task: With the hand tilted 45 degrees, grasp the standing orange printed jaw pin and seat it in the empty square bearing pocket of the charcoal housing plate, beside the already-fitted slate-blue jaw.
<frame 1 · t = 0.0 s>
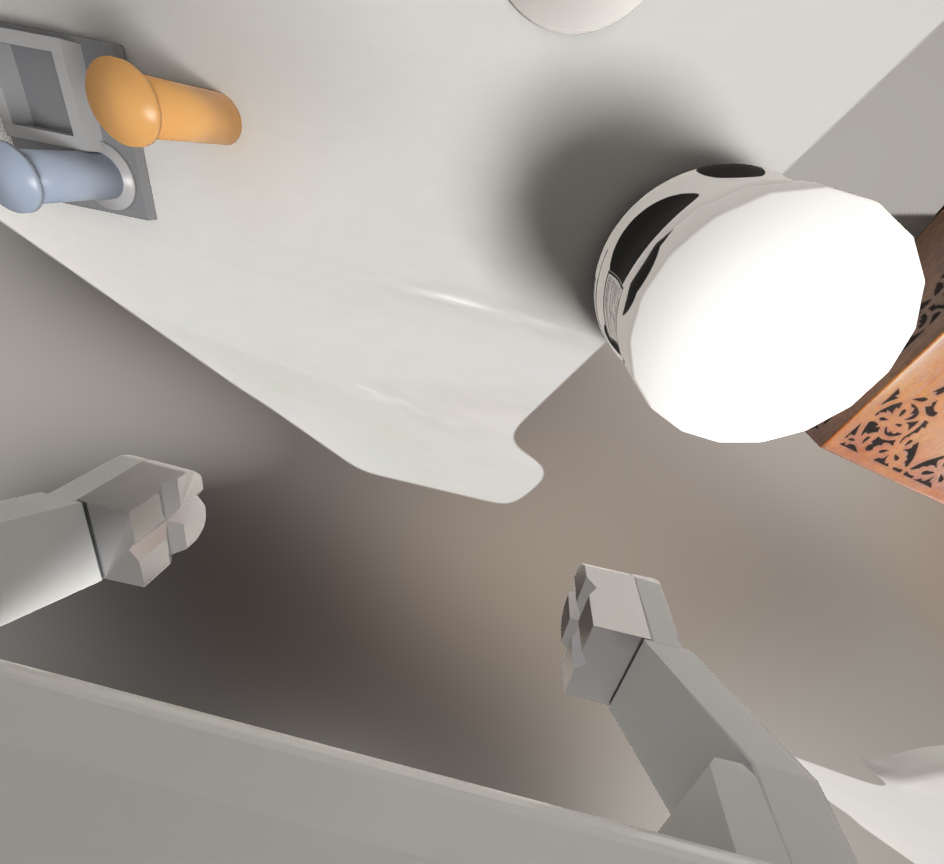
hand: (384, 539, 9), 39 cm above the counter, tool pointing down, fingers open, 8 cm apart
milk container: (685, 272, 41), on the counter
jaw pin: (220, 118, 40), on the counter
housing: (78, 127, 43), on the counter
tissue box cover: (942, 312, 40), on the counter
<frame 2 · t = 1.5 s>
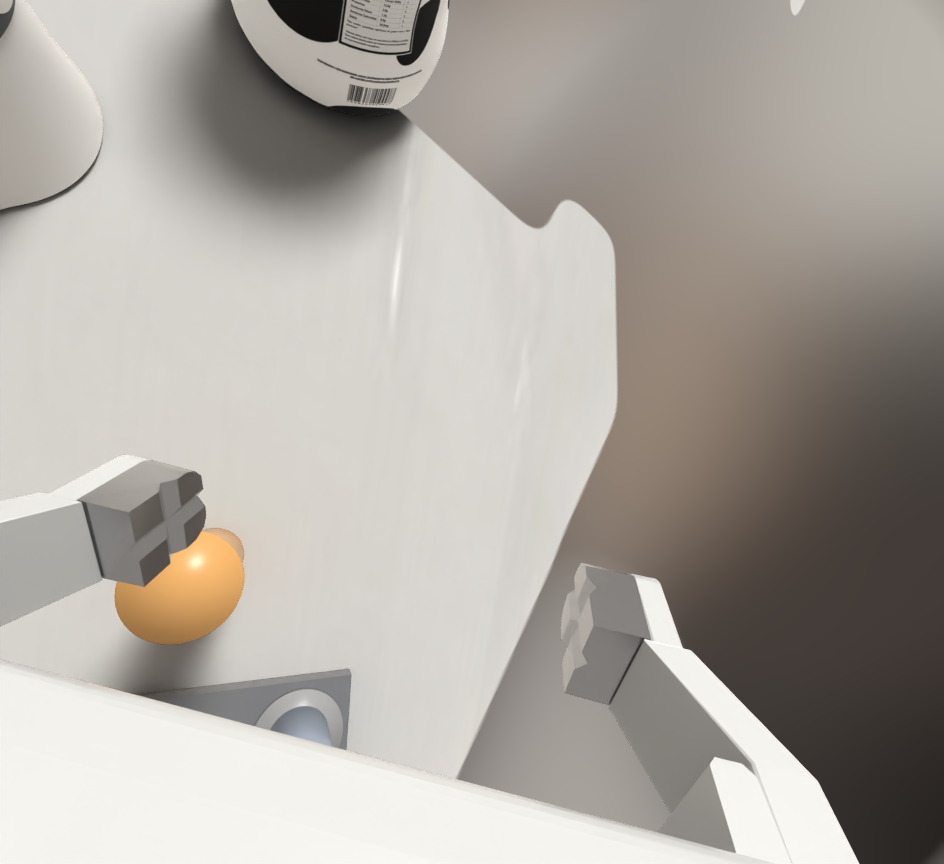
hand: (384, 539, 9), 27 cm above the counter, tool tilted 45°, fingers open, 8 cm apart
milk container: (335, 47, 40), on the counter
jaw pin: (212, 557, 31), on the counter
housing: (236, 784, 30), on the counter
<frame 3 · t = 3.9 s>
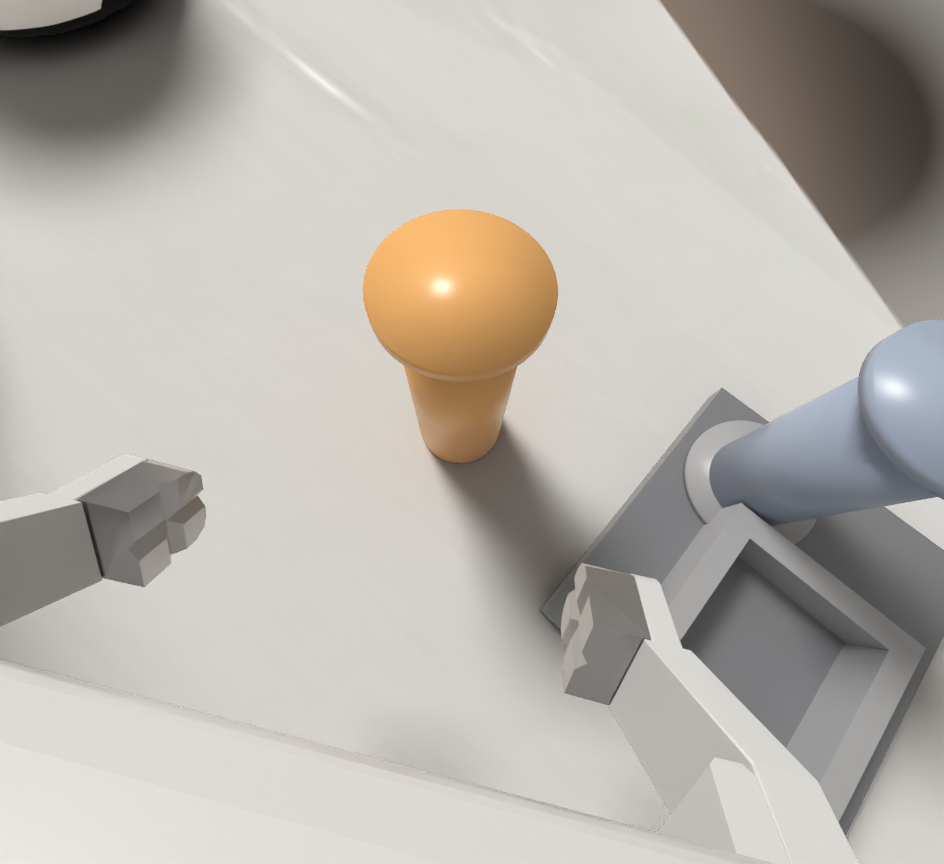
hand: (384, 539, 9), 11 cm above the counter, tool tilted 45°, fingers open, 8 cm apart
jaw pin: (460, 424, 22), on the counter
housing: (747, 591, 20), on the counter
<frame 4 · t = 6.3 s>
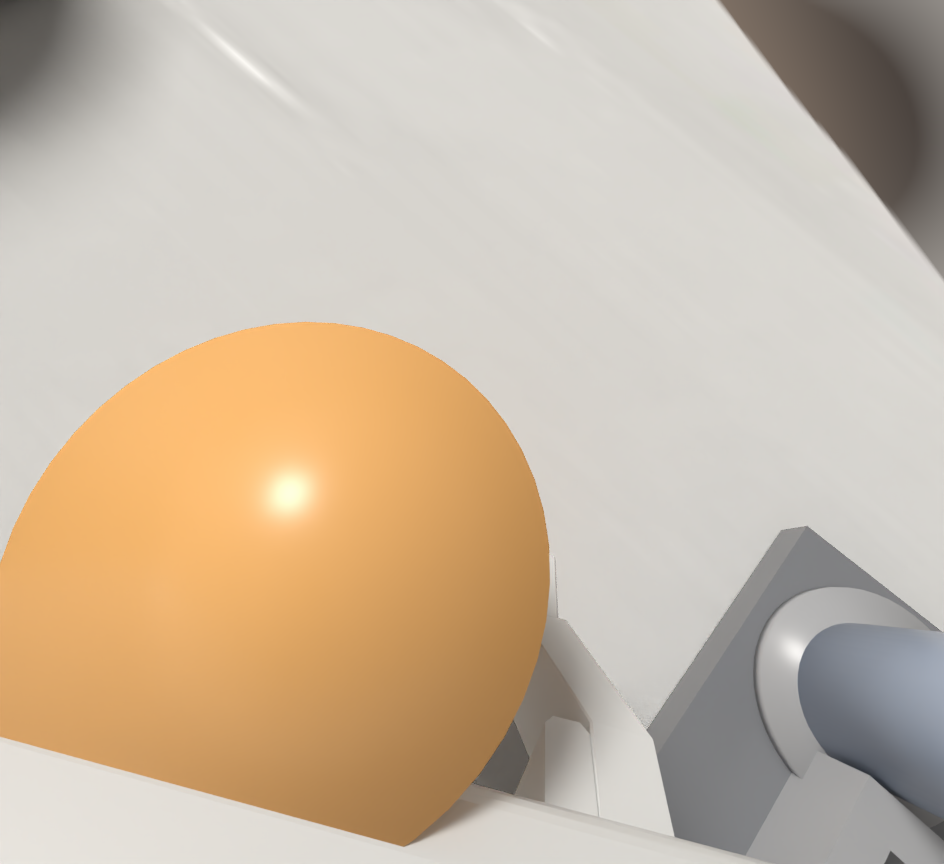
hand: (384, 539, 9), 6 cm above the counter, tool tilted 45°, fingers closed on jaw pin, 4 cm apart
jaw pin: (407, 575, 15), on the counter, touching gripper
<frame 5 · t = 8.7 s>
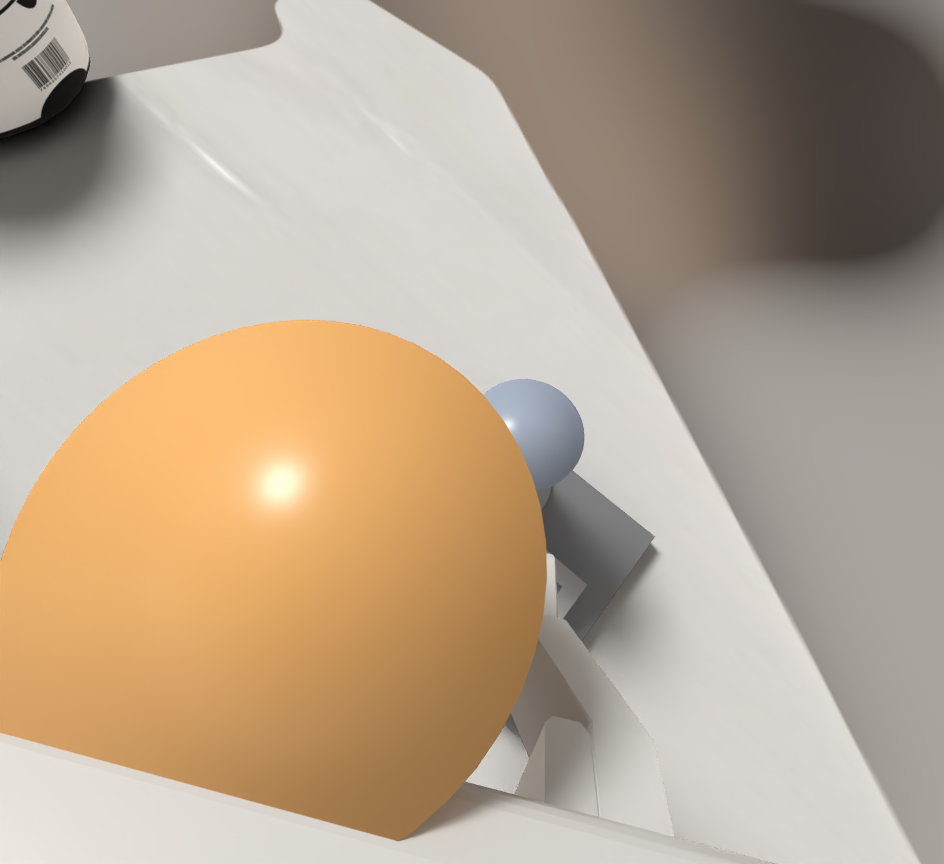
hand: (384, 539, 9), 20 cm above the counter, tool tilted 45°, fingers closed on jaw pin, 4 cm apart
milk container: (12, 94, 40), on the counter
jaw pin: (407, 573, 15), point 14 cm above the counter, touching gripper
housing: (503, 554, 28), on the counter
when the fingers open (9 cm above the counter, at t = 11.4 s): jaw pin drops 1 cm, resting on housing.
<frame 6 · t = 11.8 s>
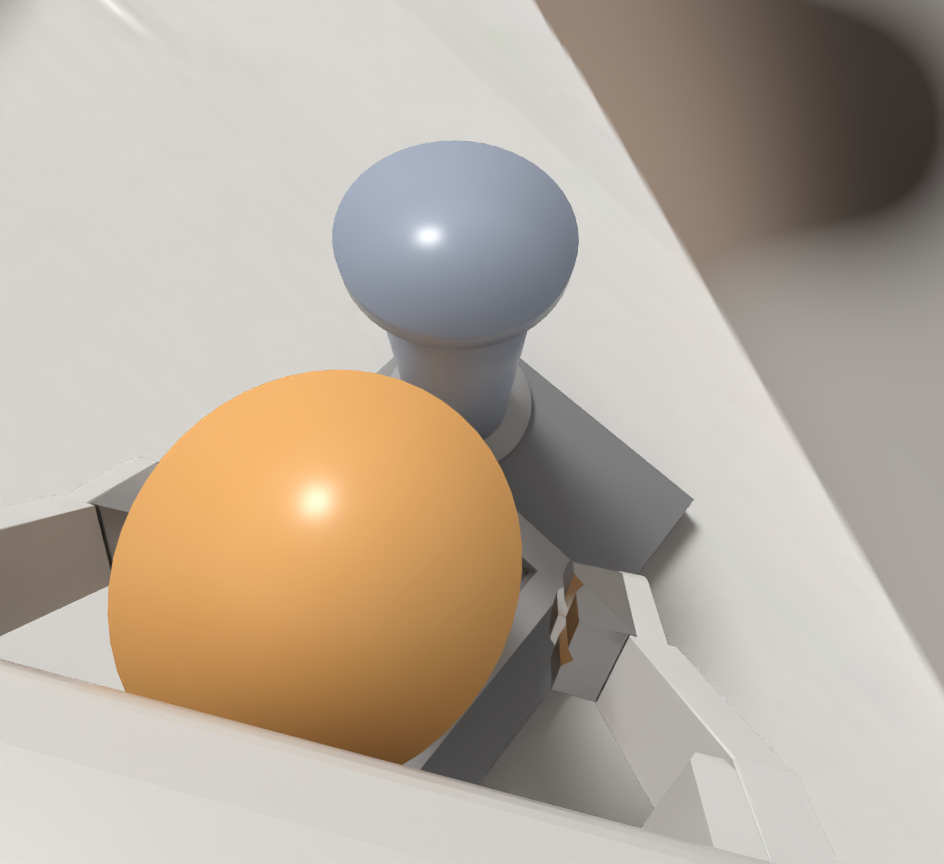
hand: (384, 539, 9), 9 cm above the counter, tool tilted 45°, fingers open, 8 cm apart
jaw pin: (411, 574, 16), point 1 cm above the counter, touching housing
housing: (451, 521, 18), on the counter
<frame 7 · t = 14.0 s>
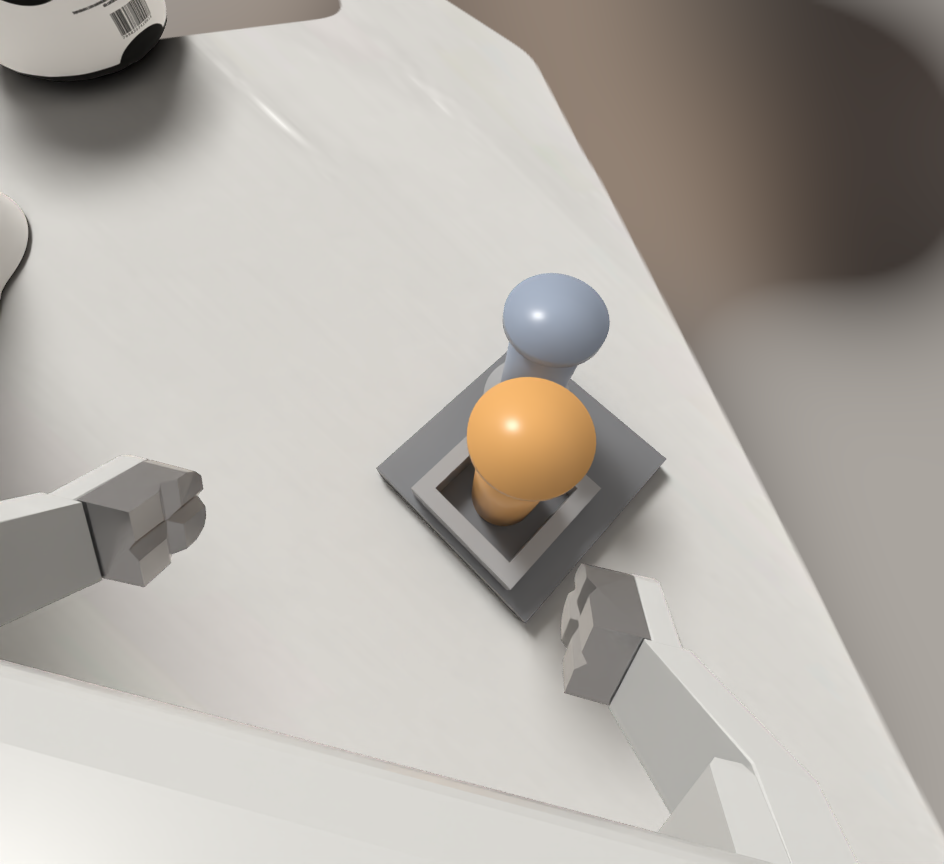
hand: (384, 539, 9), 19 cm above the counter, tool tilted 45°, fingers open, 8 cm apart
milk container: (93, 46, 44), on the counter
jaw pin: (502, 494, 28), point 1 cm above the counter, touching housing
housing: (521, 468, 30), on the counter
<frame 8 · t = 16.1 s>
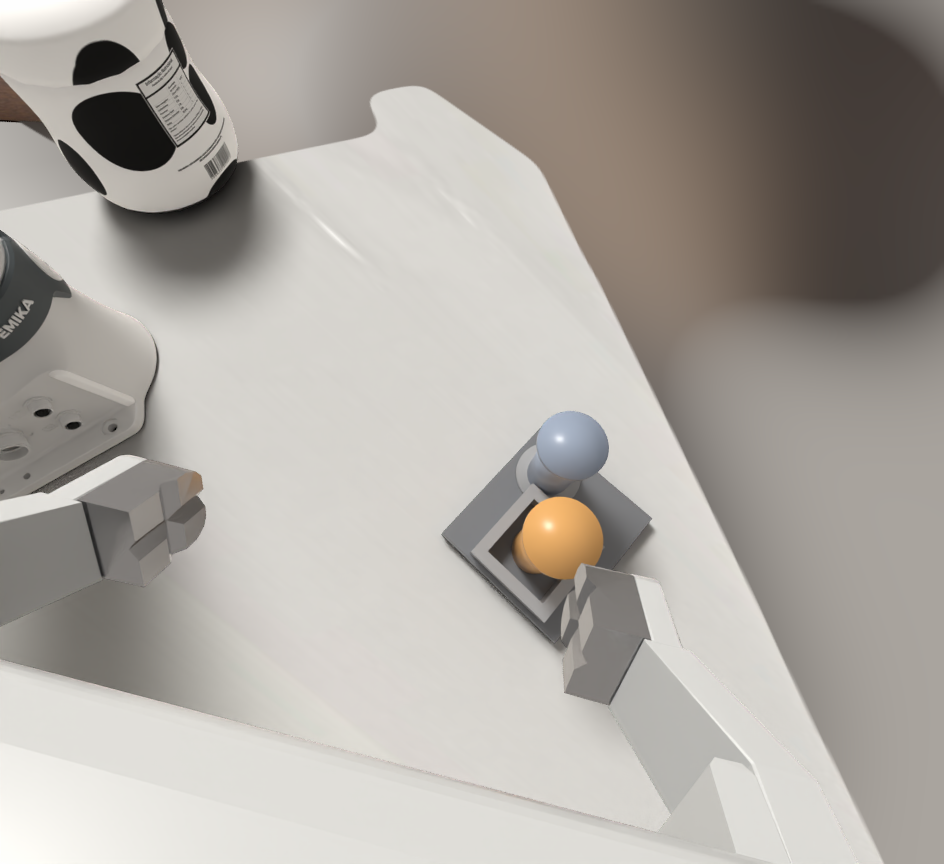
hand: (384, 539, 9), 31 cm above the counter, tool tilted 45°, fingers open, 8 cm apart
milk container: (177, 173, 53), on the counter
jaw pin: (534, 550, 39), point 1 cm above the counter, touching housing
housing: (545, 527, 40), on the counter
tissue box cover: (67, 86, 58), on the counter
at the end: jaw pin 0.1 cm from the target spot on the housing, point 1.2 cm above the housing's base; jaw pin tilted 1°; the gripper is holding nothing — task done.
